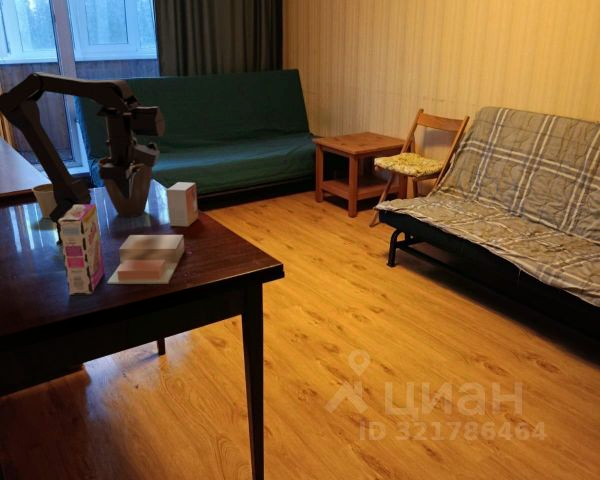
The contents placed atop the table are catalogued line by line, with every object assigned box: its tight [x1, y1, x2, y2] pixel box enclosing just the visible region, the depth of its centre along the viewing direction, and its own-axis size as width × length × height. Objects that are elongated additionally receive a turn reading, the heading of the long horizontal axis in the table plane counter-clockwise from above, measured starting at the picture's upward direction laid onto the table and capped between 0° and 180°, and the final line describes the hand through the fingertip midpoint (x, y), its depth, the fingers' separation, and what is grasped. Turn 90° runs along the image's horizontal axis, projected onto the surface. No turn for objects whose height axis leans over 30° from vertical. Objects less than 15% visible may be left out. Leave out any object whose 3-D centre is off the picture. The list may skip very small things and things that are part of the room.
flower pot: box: [31, 182, 57, 219], centre depth 162 cm, size 9×9×9 cm
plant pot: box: [97, 156, 153, 218], centre depth 163 cm, size 15×15×16 cm
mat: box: [106, 263, 178, 285], centre depth 125 cm, size 13×10×1 cm
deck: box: [118, 234, 185, 265], centre depth 134 cm, size 13×9×4 cm
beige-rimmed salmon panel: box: [117, 260, 166, 280], centre depth 124 cm, size 9×6×2 cm, turn 90°
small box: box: [166, 181, 199, 227], centre depth 156 cm, size 8×6×10 cm
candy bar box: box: [58, 203, 105, 296], centre depth 118 cm, size 11×5×16 cm, turn 5°
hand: (127, 198), depth 139 cm, fingers closed
